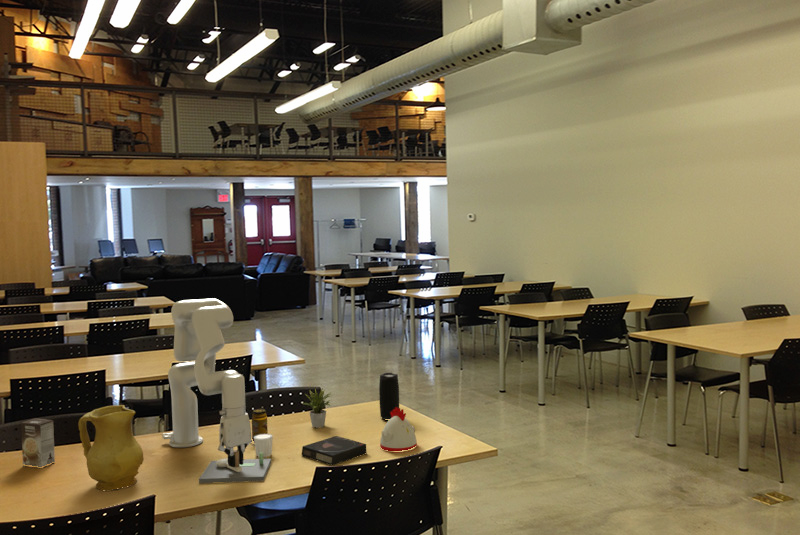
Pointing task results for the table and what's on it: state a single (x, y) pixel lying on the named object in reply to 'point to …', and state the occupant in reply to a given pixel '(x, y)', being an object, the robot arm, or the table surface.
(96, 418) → the pitcher
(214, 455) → the table surface
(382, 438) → the kitchen timer
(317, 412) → the house plant
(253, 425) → the condiment
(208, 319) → the robot arm
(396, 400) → the portable speaker
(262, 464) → the board
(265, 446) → the white cup
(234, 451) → the light piece
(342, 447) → the flat black box
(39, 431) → the coffee box
